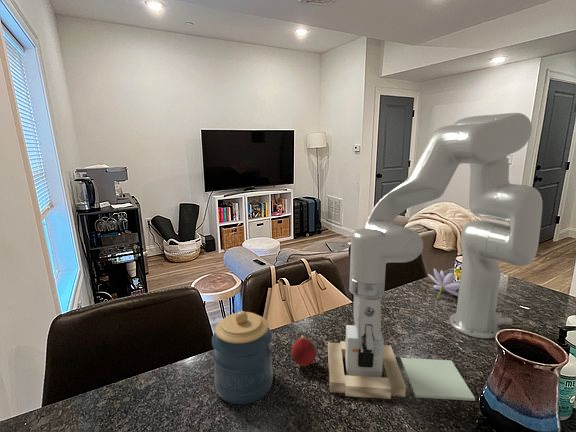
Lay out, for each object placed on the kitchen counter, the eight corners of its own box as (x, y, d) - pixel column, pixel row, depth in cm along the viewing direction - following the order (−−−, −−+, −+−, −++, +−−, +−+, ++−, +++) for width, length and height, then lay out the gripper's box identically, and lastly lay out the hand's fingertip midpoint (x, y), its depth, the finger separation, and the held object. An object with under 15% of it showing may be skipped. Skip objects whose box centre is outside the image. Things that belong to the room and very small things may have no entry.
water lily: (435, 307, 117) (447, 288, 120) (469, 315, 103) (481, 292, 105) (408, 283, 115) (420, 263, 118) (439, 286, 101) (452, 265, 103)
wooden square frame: (389, 352, 81) (390, 343, 81) (406, 399, 66) (407, 389, 65) (327, 349, 83) (328, 340, 82) (330, 395, 67) (330, 384, 67)
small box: (377, 364, 77) (380, 325, 74) (382, 381, 71) (384, 339, 69) (344, 362, 77) (345, 324, 75) (346, 379, 72) (347, 337, 70)
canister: (249, 356, 80) (247, 292, 76) (285, 383, 71) (284, 311, 67) (203, 383, 71) (198, 311, 67) (237, 417, 62) (233, 337, 58)
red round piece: (317, 360, 78) (318, 331, 77) (312, 376, 73) (312, 345, 71) (295, 355, 80) (295, 327, 78) (288, 370, 75) (288, 340, 73)
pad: (451, 362, 77) (451, 360, 77) (475, 400, 65) (475, 398, 65) (400, 359, 78) (400, 357, 78) (415, 397, 67) (415, 394, 66)
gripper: (393, 304, 61) (387, 385, 65) (376, 270, 78) (373, 336, 81) (353, 302, 62) (350, 382, 65) (346, 269, 78) (344, 335, 82)
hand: (363, 356), depth 73 cm, fingers closed on small box, 5 cm apart
